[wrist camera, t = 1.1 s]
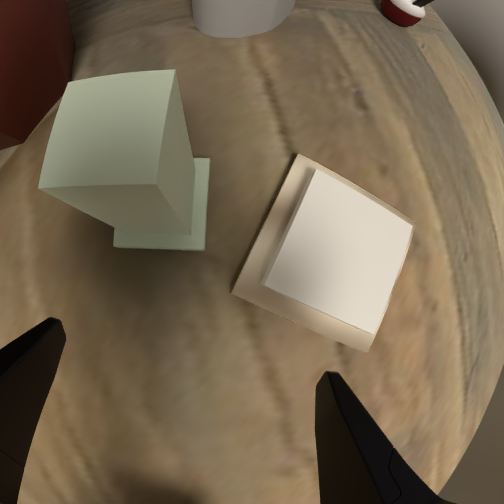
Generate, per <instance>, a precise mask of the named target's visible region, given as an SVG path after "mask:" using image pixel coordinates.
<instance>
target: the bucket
mask: <svg viewBox="0 0 504 504" xmlns="http://www.w3.org/2000/svg"><path fill="white" fill-rule="evenodd" d="M74 48H75V43H74V38H73V34H72V29H71V24H70V19H69V14H68V8H67V2H66V0H0V150H2V149H5V148H9V147H12V146H15V145H19V144H22V143H24V142H25V140H26V139H27V138H28V136H29V135H30V134H31V132H32V131H33V130H34V128H35V127H36V126H37V125H38V123H39V122H40V121H41V120H42V118H43V117H44V116H45V115H46V114H47V112H48V111H49V110H50V109H51V108H52V107H53V105H54V104H55V103H56V102H57V101H58V100H59V99H60V98H61V97H62V95H63V94H64V92H65V90H66V87H67V85H68V82H71V72H72V63H73V55H74Z"/></svg>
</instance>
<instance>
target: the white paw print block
mask: <svg viewBox="0 0 504 504" xmlns="http://www.w3.org/2000/svg"><path fill="white" fill-rule="evenodd" d="M295 1H296V0H192V11H193V21H194V24H195V26H196V27H197V29H198V30H199V31H201V32H202V33H204V34H206V35H208V36H212V37H218V38H238V37H246V36H251V35H255V34H259V33H263V32H267V31H270V30H272V29H273V28H275V27H276V26H278V25H279V24H280V23H281V22H282V21H284V20H285V19H286V18H287V17H288V15H289V14H290V13H291V12H292V10H293V8H294V4H295Z"/></svg>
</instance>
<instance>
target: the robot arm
mask: <svg viewBox="0 0 504 504" xmlns="http://www.w3.org/2000/svg"><path fill="white" fill-rule="evenodd" d="M65 342H66V334H65V331H64V328H63V325H62V322H61V321H60V320H59V319H56V318H53V317H49V318H47V319H46V320H44V321H43V322H41V323H40V324H38V325H36V326H35V327H33V328H32V329H30V330H29V331H27V332H26V333H24V334H23V335H21V336H20V337H18V338H17V339H15V340H13V341H12V342H10V343H9V344H8V345H6V346H5V347H3V348H2V349H0V504H17V500H18V495H19V490H20V485H21V481H22V477H23V472H24V467H25V464H26V460H27V456H28V453H29V449H30V446H31V443H32V439H33V436H34V433H35V430H36V427H37V424H38V421H39V418H40V415H41V412H42V409H43V406H44V404H45V401H46V398H47V396H48V393H49V391H50V388H51V385H52V383H53V380H54V378H55V375H56V371H57V368H58V365H59V361H60V358H61V355H62V352H63V348H64V345H65ZM315 437H316V449H317V461H318V474H319V489H320V504H456V503H452V502H449V501H446V500H444V499H442V498H440V497H439V496H438V495H436V494H435V493H434V492H433V491H432V490H431V489H430V488H429V487H428V486H427V485H426V484H425V483H424V482H423V481H422V480H421V479H420V477H419V476H418V475H417V474H416V473H415V472H414V471H413V470H412V469H411V468H410V467H409V465H408V464H407V463H406V462H405V460H404V459H403V458H402V457H401V455H400V454H399V453H398V451H397V450H396V449H395V448H393V445H392V444H391V442H390V441H389V440H388V438H387V437H386V436H385V434H384V433H383V432H382V430H381V429H380V427H379V426H378V425H377V423H376V422H375V421H374V419H373V418H372V417H371V415H370V414H369V413H368V411H367V410H366V409H365V407H364V406H363V405H362V403H361V402H360V401H359V399H358V398H357V397H356V395H355V394H354V393H353V391H352V390H351V389H350V387H349V386H348V385H347V383H346V382H345V381H344V379H343V378H342V376H341V375H340V374H339V373H338V372H336V371H326V372H325V373H324V374H323V376H322V377H321V379H320V380H319V382H318V383H317V386H316V399H315Z"/></svg>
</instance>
